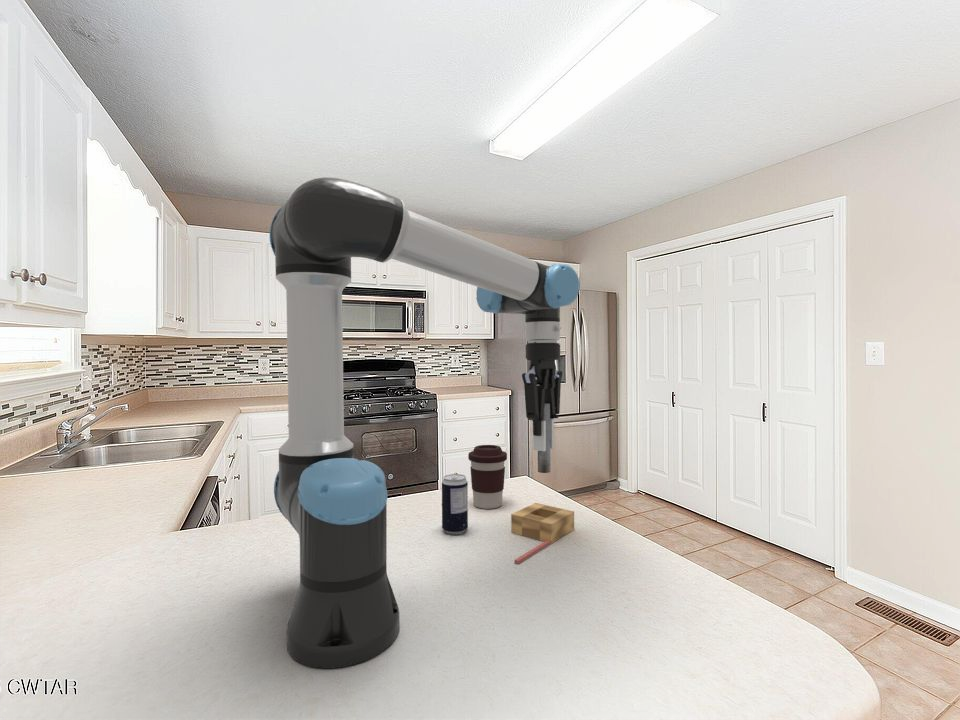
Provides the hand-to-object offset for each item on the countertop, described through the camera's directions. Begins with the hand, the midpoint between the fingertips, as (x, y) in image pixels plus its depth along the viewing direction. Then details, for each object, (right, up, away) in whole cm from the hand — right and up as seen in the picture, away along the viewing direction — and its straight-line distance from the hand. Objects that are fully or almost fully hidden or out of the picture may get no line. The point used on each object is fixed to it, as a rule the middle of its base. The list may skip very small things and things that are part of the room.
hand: (543, 448), depth 104 cm
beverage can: (-20, -18, 0) cm, 27 cm away
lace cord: (-3, -18, -11) cm, 22 cm away
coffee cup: (-12, -18, +18) cm, 28 cm away
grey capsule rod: (0, -5, 0) cm, 5 cm away
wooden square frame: (0, -18, 0) cm, 18 cm away
